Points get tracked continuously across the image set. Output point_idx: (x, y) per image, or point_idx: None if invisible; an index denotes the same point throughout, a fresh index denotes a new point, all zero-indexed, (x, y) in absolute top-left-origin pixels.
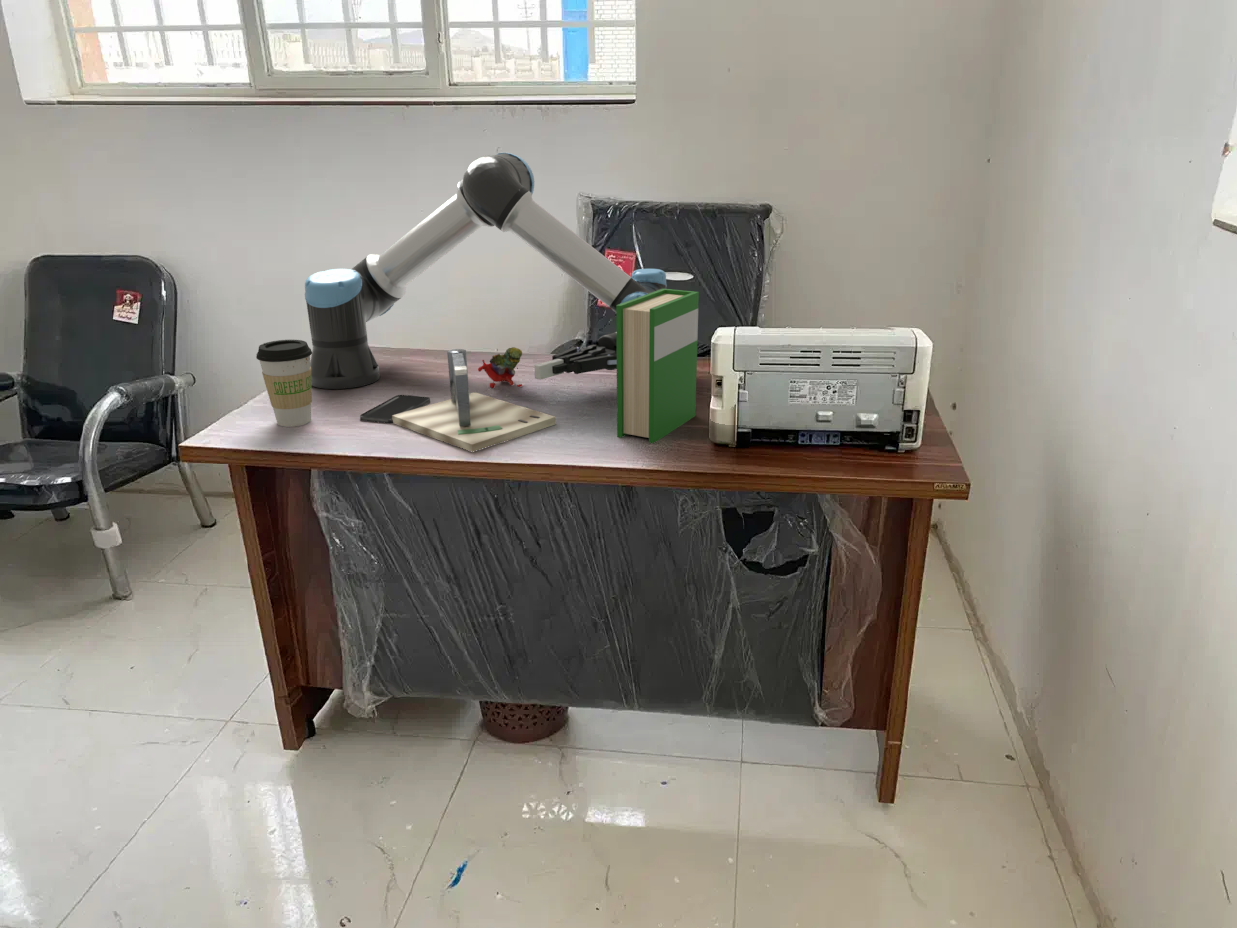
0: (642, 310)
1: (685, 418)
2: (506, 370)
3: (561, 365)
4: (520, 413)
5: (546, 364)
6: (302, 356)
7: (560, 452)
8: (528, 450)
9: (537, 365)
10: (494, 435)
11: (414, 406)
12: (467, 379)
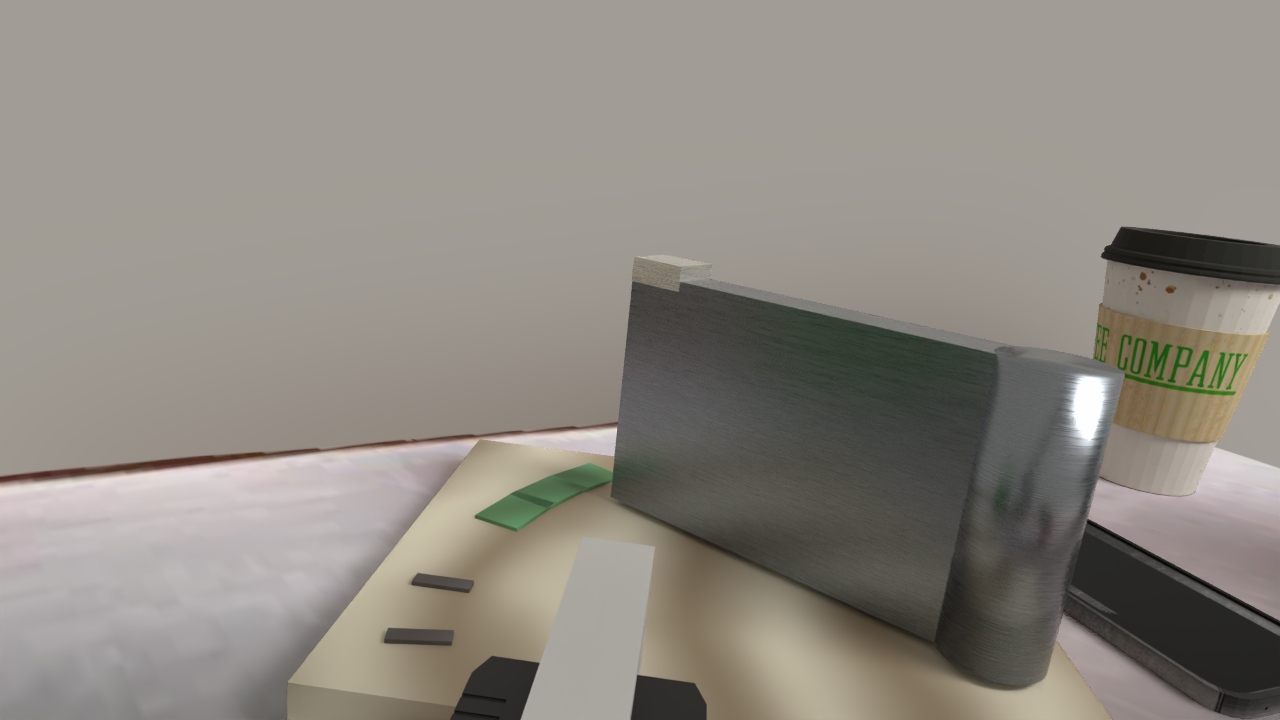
0: None
1: None
2: None
3: (463, 716)
4: (539, 649)
5: (568, 582)
6: (1124, 257)
7: (133, 525)
8: (288, 510)
9: (619, 544)
10: (460, 483)
11: (1103, 611)
12: (977, 537)
